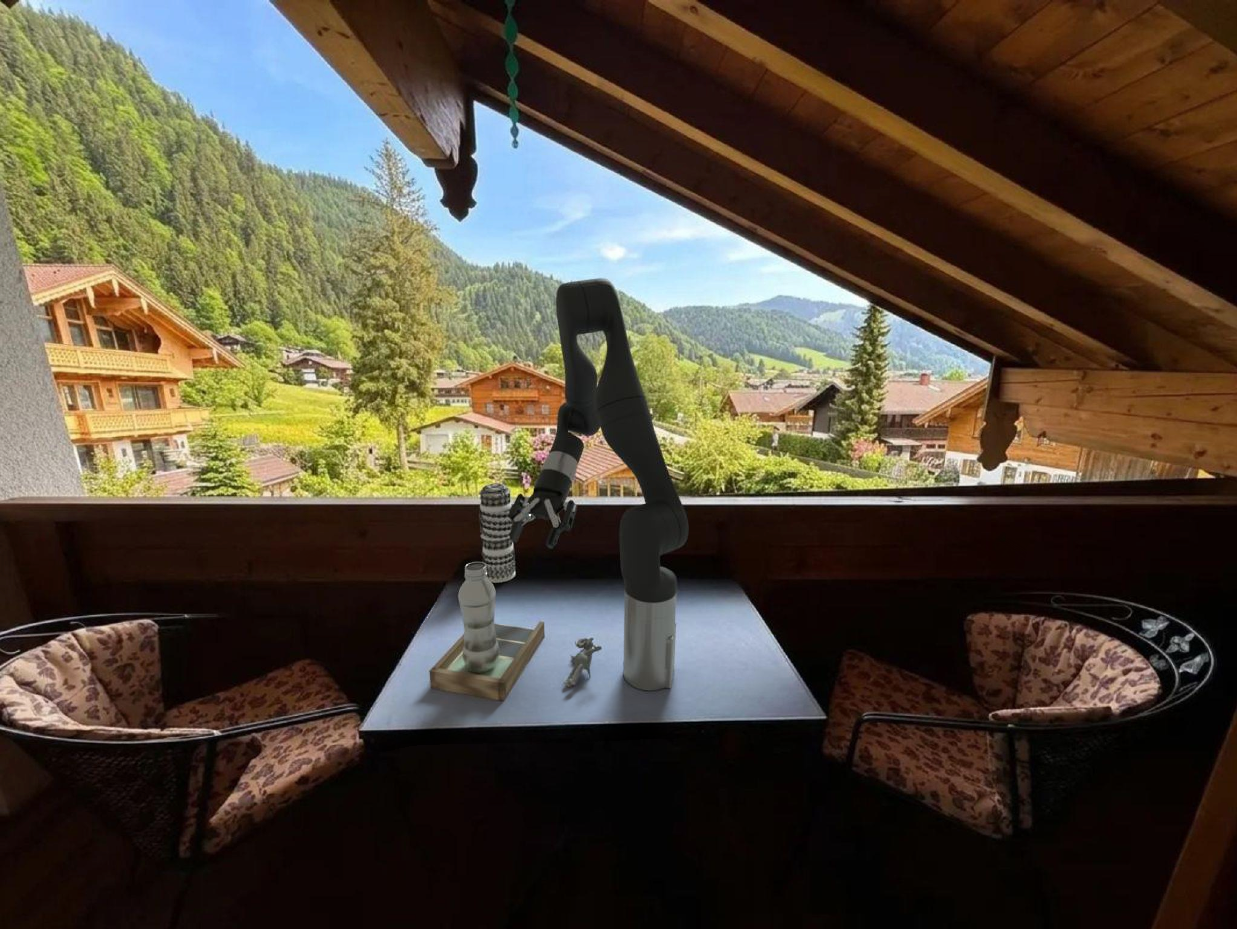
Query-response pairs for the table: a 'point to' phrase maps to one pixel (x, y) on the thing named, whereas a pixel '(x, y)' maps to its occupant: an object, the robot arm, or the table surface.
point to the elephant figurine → (582, 660)
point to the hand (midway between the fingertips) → (530, 543)
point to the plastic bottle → (478, 619)
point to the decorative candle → (496, 532)
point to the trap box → (500, 679)
